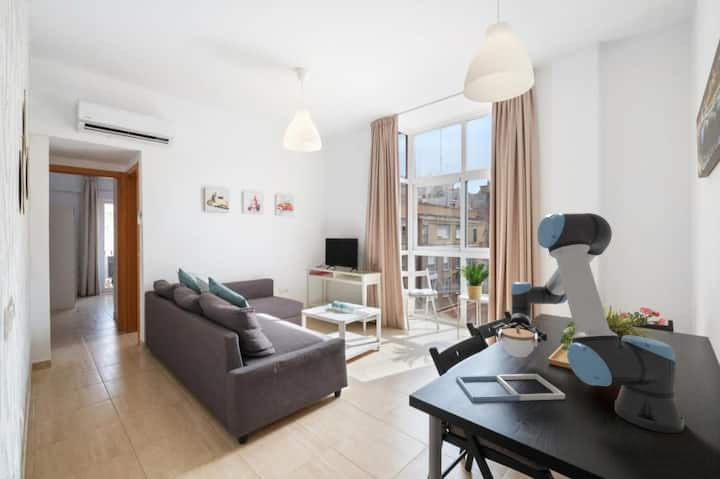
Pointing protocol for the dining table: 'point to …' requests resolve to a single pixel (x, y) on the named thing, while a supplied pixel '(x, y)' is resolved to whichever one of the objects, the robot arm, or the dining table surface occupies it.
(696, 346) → the dining table surface
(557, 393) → the white square frame
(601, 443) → the dining table surface
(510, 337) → the lidded jar
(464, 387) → the blue bezel
